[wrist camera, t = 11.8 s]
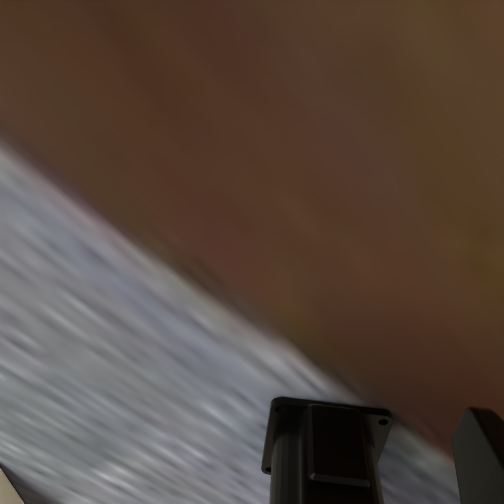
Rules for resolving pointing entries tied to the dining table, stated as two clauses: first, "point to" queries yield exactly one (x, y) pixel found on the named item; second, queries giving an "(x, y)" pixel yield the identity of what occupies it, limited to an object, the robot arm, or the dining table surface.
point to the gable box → (8, 491)
